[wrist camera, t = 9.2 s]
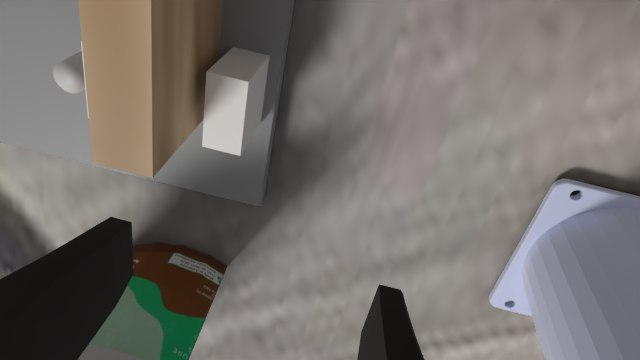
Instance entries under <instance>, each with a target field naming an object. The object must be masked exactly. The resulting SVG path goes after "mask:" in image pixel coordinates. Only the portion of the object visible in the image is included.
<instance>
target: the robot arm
mask: <svg viewBox="0 0 640 360" xmlns="http://www.w3.org/2000/svg"><path fill="white" fill-rule="evenodd" d="M575 190H580V192H579V193H578V194H576V195H570V194H571V193H572V192H573V191H575ZM133 274H134V270H133V246H132V223H131V222H129V221H125V220H121V219H117V218H113V217H110V218H108V219H107V220H105V221H103V222H101V223H100V224H98V225H96V226H95V227H93V228H91V229H89V230H88V231H86V232H84V233H83V234H81V235H79V236H78V237H76V238H74V239H73V240H71V241H69V242H68V243H66V244H64V245H63V246H61V247H59V248H57V249H56V250H54V251H52V252H50V253H49V254H47V255H45V256H43V257H42V258H40V259H38V260H36V261H34V262H32V263H30V264H29V265H27V266H25V267H23V268H21V269H19V270H17V271H15V272H13V273H11V274H9V275H8V276H6V277H4V278H2V279H0V360H78V358H79V357H80V356H81V354H82V353H83V351H84V350H85V349H86V347H87V346H88V345H89V343H90V342H91V340H92V339H93V338H94V336H95V335H96V333H97V332H98V331H99V329H100V328H101V327H102V325H103V324H104V322H105V321H106V319H107V318H108V317H109V315H110V314H111V312H112V311H113V310H114V308H115V307H116V305H117V304H118V302H119V300H120V298H121V296H122V295H123V293H124V291H125V289H126V287H127V285H128V283H129V281H130V280H131V278H132V276H133ZM489 299H490V303H491V305H492V306H494V307H496V308H500V309H504V310H508V311H512V312H516V313H520V314H524V315H528V316H532V317H533V321H534V324H535V327H536V331H537V334H538V337H539V341H540V344H541V347H542V350H543V354H544V357H545V360H640V196H636V195H632V194H628V193H624V192H620V191H616V190H611V189H607V188H603V187H599V186H595V185H591V184H587V183H583V182H579V181H575V180H570V179H560V180H557V181H556V182H554V183H553V184H552V186H551V187H550V189H549V191H548V193H547V194H546V196H545V198H544V200H543V201H542V203H541V205H540V207H539V208H538V210H537V212H536V214H535V216H534V217H533V219H532V221H531V223H530V224H529V226H528V228H527V230H526V231H525V233H524V235H523V237H522V238H521V240H520V242H519V244H518V246H517V247H516V249H515V251H514V253H513V254H512V256H511V258H510V260H509V261H508V263H507V265H506V267H505V268H504V270H503V272H502V274H501V275H500V277H499V279H498V281H497V283H496V284H495V286H494V288H493V290H492V291H491V293H490V295H489ZM509 300H510V301H511V302H506V301H509ZM358 360H424V358H423V355H422V352H421V350H420V347H419V344H418V342H417V339H416V336H415V333H414V330H413V327H412V324H411V321H410V318H409V314H408V311H407V308H406V304H405V300H404V296H403V293H402V292H401V290H399V289H395V288H391V287H387V286H383V285H379V286H378V289H377V291H376V294H375V297H374V300H373V302H372V305H371V308H370V310H369V313H368V316H367V318H366V321H365V324H364V327H363V329H362V332H361V339H360V346H359V353H358Z"/></svg>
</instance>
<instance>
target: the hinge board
mask: <svg viewBox="0 0 640 360" xmlns="http://www.w3.org/2000/svg"><path fill="white" fill-rule="evenodd" d="M294 4H295V0H223V14H222V28H221V41H220V55H219V61H217V62H216V63H215V64H214V65H213V66H212V67H211V68H210V69H209V70H208V71H207V72H206V87H205V104H204V120H203V121H202V122H201V123H200V124H199V125H198V126H197V128H196V129H195V130H194V131H193V132H192V133H191V135H190V136H189V137H188V138H187V139H186V140H185V141H184V143H183V144H182V145H181V146H180V147H179V148H178V149H177V151H176V152H175V153H174V154H173V155H172V156H171V158H170V159H169V160H168V161H167V162H166V163H165V164H164V166H163V167H162V168H161V169H160V170H159V171H158V173H157V174H156V175H155V176H154V177H153V178H151V177H147V176H143V175H139V174H135V173H131V172H126V171H122V170H118V169H114V168H110V167H106V166H102V165H98V164H94V163H93V157H92V146H91V135H90V124H89V113H88V102H87V92H86V81H85V70H84V59H83V48H82V37H81V27H80V16H79V5H78V0H0V143H4V144H8V145H12V146H16V147H20V148H24V149H28V150H33V151H37V152H41V153H45V154H49V155H53V156H57V157H61V158H65V159H69V160H73V161H77V162H81V163H85V164H89V165H93V166H97V167H101V168H105V169H109V170H113V171H117V172H121V173H125V174H129V175H133V176H137V177H141V178H145V179H149V180H153V181H157V182H161V183H165V184H169V185H173V186H177V187H181V188H185V189H189V190H193V191H197V192H201V193H205V194H209V195H213V196H217V197H221V198H225V199H229V200H233V201H237V202H241V203H245V204H249V205H253V206H257V207H260V205H261V203H262V201H263V198H264V196H265V191H266V184H267V178H268V171H269V165H270V159H271V152H272V146H273V139H274V133H275V126H276V120H277V113H278V107H279V101H280V94H281V88H282V81H283V75H284V68H285V62H286V55H287V49H288V43H289V36H290V30H291V23H292V17H293V10H294Z"/></svg>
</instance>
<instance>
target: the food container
mask: <svg viewBox="0 0 640 360" xmlns="http://www.w3.org/2000/svg"><path fill="white" fill-rule="evenodd" d="M226 268H227V266H226V265H225V264H223V263H221V262H220V261H218V260H217V259H215V258H213V257H212V256H210V255H208V254H205V253H202V252H200V251H197V250H194V249H192V248H189V247H187V246H183V245H176V244H169V243H161V242H156V243H148V244H141V245H136V246H134V247H133V270H134V274H133V276H132V278H131V280H130V281H129V283H128V285H127V287H126V289H125V291H124V293H123V295H122V296H121V298H120V300H119V302H118V304H117V305H116V307H115V308H114V310H113V311H112V312H111V314H110V315H109V317H108V318H107V319H106V321H105V322H104V324H103V325H102V327H101V328H100V329H99V331H98V332H97V333H96V335H95V336H94V338H93V339H92V340H91V342H90V343H89V345H88V346H87V347H86V349H85V350H84V351H83V353H82V354H81V356H80V357H79V358H78V360H189V357H190V355H191V353H192V350H193V348H194V345H195V343H196V341H197V338H198V336H199V333H200V331H201V328H202V326H203V324H204V321H205V319H206V316H207V314H208V312H209V309H210V307H211V304H212V302H213V300H214V297H215V295H216V292H217V290H218V287H219V285H220V283H221V280H222V278H223V275H224V273H225V271H226Z"/></svg>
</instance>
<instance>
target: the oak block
mask: <svg viewBox="0 0 640 360" xmlns="http://www.w3.org/2000/svg"><path fill="white" fill-rule="evenodd" d="M78 5H79V16H80V27H81V37H82V48H83V59H84V70H85V81H86V92H87V102H88V113H89V124H90V135H91V146H92V157H93V163H94V164H98V165H102V166H106V167H110V168H114V169H118V170H122V171H126V172H131V173H135V174H139V175H143V176H147V177H151V178H153V177H154V176H155V175H156V174H157V173H158V171H159V170H160V169H161V168H162V167H163V166H164V164H165V163H166V162H167V161H168V160H169V159H170V158H171V156H172V155H173V154H174V153H175V152H176V151H177V149H178V148H179V147H180V146H181V145H182V144H183V143H184V141H185V140H186V139H187V138H188V137H189V136H190V135H191V133H192V132H193V131H194V130H195V129H196V128H197V126H198V125H199V124H200V123H201V122H202V121H203V120H204V104H205V87H206V72H207V71H208V70H209V69H210V68H211V67H212V66H213V65H214V64H215V63H216V62H217V61H219V55H220V41H221V28H222V14H223V0H78Z"/></svg>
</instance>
